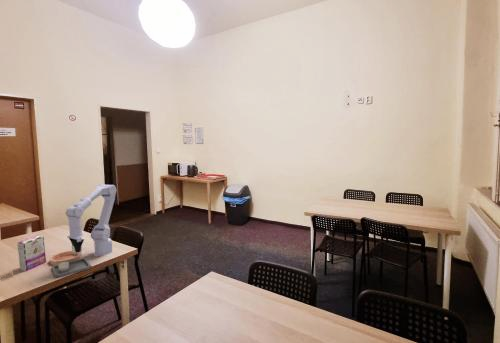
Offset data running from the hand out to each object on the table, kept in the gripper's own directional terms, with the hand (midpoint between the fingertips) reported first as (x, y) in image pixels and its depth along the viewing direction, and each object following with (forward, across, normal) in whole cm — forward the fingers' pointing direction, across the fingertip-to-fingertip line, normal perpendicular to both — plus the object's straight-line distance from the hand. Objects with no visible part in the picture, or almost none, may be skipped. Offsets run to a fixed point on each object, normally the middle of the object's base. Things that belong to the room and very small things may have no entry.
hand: (77, 250), depth 149 cm
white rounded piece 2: (+1, 0, 0) cm, 1 cm away
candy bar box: (+9, -15, -18) cm, 25 cm away
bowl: (+9, -12, -3) cm, 16 cm away
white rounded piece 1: (+8, +3, -7) cm, 11 cm away
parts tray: (+9, +3, -4) cm, 10 cm away
